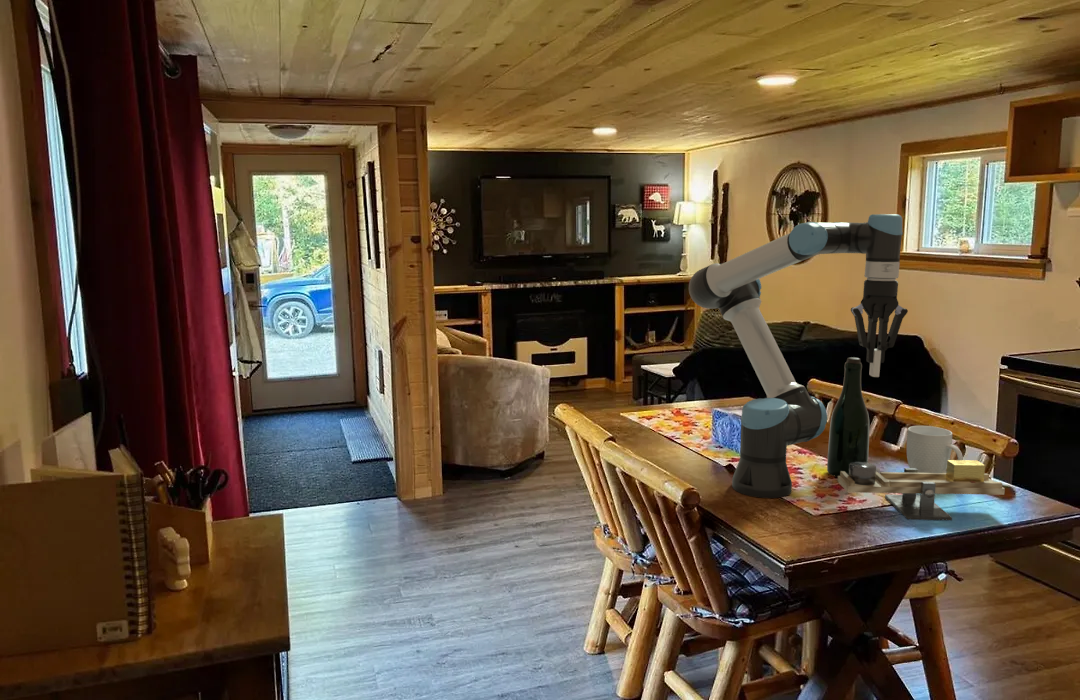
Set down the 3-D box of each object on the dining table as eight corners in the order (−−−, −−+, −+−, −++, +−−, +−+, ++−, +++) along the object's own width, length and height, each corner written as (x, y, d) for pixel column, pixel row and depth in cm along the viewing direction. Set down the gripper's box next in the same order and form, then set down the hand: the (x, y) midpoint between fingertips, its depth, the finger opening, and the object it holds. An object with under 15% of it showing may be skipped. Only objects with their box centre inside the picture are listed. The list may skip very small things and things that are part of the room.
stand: (907, 519, 182) (910, 485, 181) (885, 497, 197) (887, 465, 196) (951, 520, 182) (954, 486, 180) (925, 498, 196) (928, 466, 195)
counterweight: (852, 485, 187) (853, 469, 186) (845, 477, 193) (846, 461, 192) (878, 485, 186) (879, 469, 186) (870, 477, 192) (871, 462, 192)
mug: (971, 481, 209) (975, 434, 207) (949, 489, 203) (952, 441, 201) (918, 467, 221) (921, 423, 219) (896, 474, 215) (899, 429, 213)
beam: (847, 492, 186) (848, 480, 186) (837, 481, 194) (838, 470, 194) (1004, 494, 183) (1005, 483, 183) (987, 483, 191) (988, 472, 191)
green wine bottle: (836, 466, 223) (843, 353, 218) (873, 474, 216) (881, 357, 211) (820, 474, 216) (826, 357, 211) (857, 483, 208) (864, 362, 203)
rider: (953, 485, 186) (954, 465, 185) (945, 479, 190) (947, 460, 189) (983, 485, 185) (985, 465, 184) (975, 480, 189) (977, 460, 188)
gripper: (858, 280, 182) (851, 378, 186) (915, 280, 181) (907, 379, 185) (848, 278, 190) (842, 372, 194) (903, 278, 189) (895, 373, 193)
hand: (874, 375), depth 189 cm, fingers closed
